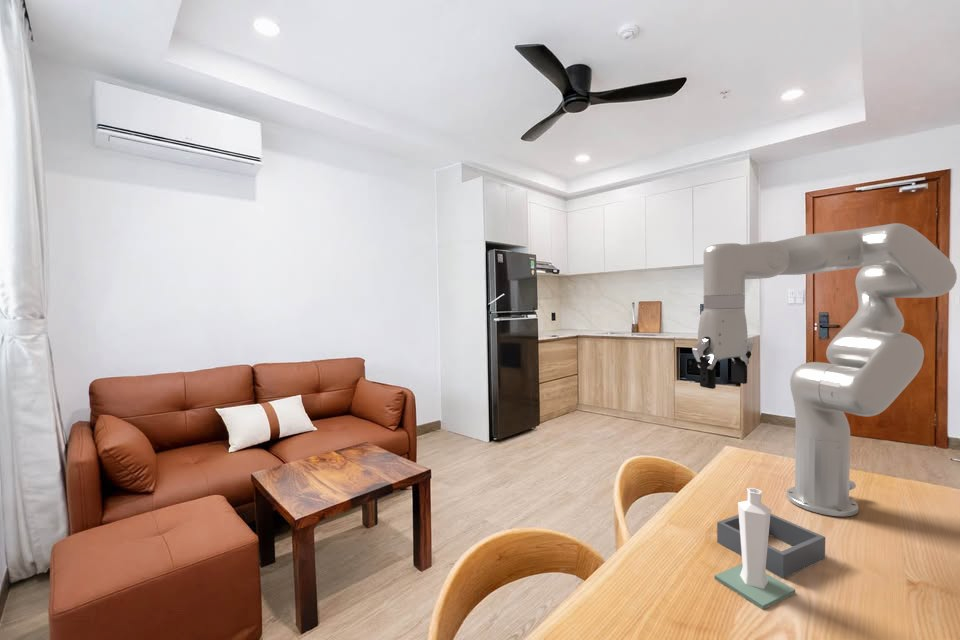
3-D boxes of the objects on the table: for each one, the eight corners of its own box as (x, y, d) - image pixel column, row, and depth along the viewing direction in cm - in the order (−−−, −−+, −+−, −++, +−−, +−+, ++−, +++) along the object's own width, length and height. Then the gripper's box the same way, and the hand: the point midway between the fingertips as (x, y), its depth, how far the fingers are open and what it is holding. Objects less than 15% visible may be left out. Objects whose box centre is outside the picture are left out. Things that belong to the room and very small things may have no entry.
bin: (757, 527, 88) (757, 507, 87) (825, 559, 77) (825, 537, 76) (717, 542, 83) (717, 521, 82) (783, 578, 72) (783, 555, 72)
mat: (745, 565, 75) (745, 562, 75) (795, 593, 68) (795, 589, 68) (714, 578, 72) (714, 575, 72) (762, 609, 65) (762, 605, 65)
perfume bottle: (777, 591, 68) (777, 498, 67) (746, 588, 69) (746, 496, 68) (763, 573, 72) (764, 485, 72) (735, 570, 73) (735, 483, 72)
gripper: (734, 302, 97) (734, 378, 98) (678, 305, 90) (679, 386, 91) (768, 302, 90) (768, 383, 91) (711, 305, 83) (711, 393, 84)
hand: (723, 385), depth 91 cm, fingers open, 9 cm apart
